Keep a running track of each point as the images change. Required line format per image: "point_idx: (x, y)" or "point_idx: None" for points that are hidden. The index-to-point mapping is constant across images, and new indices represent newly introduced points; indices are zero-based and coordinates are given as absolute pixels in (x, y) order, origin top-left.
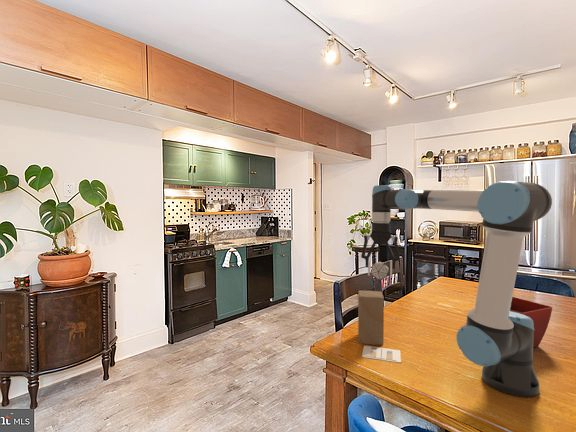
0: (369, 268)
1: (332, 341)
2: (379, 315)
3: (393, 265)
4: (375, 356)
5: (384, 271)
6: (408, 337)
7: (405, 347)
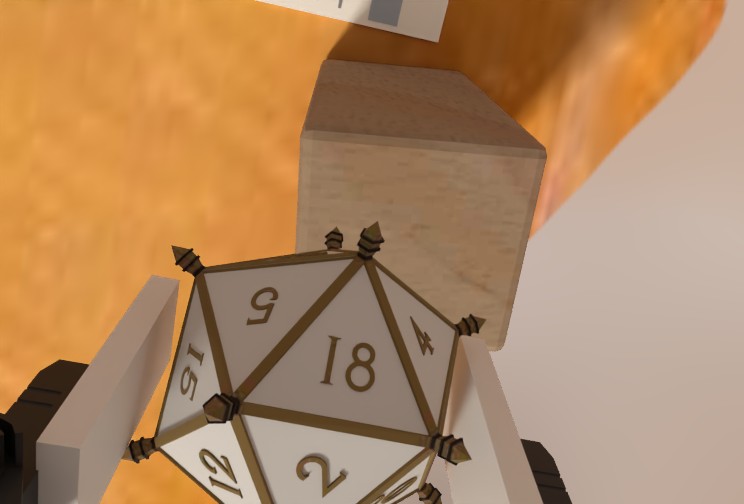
0: (486, 401)
1: (613, 87)
2: (345, 92)
3: (48, 408)
4: None
5: (251, 287)
6: (160, 191)
7: (195, 49)
